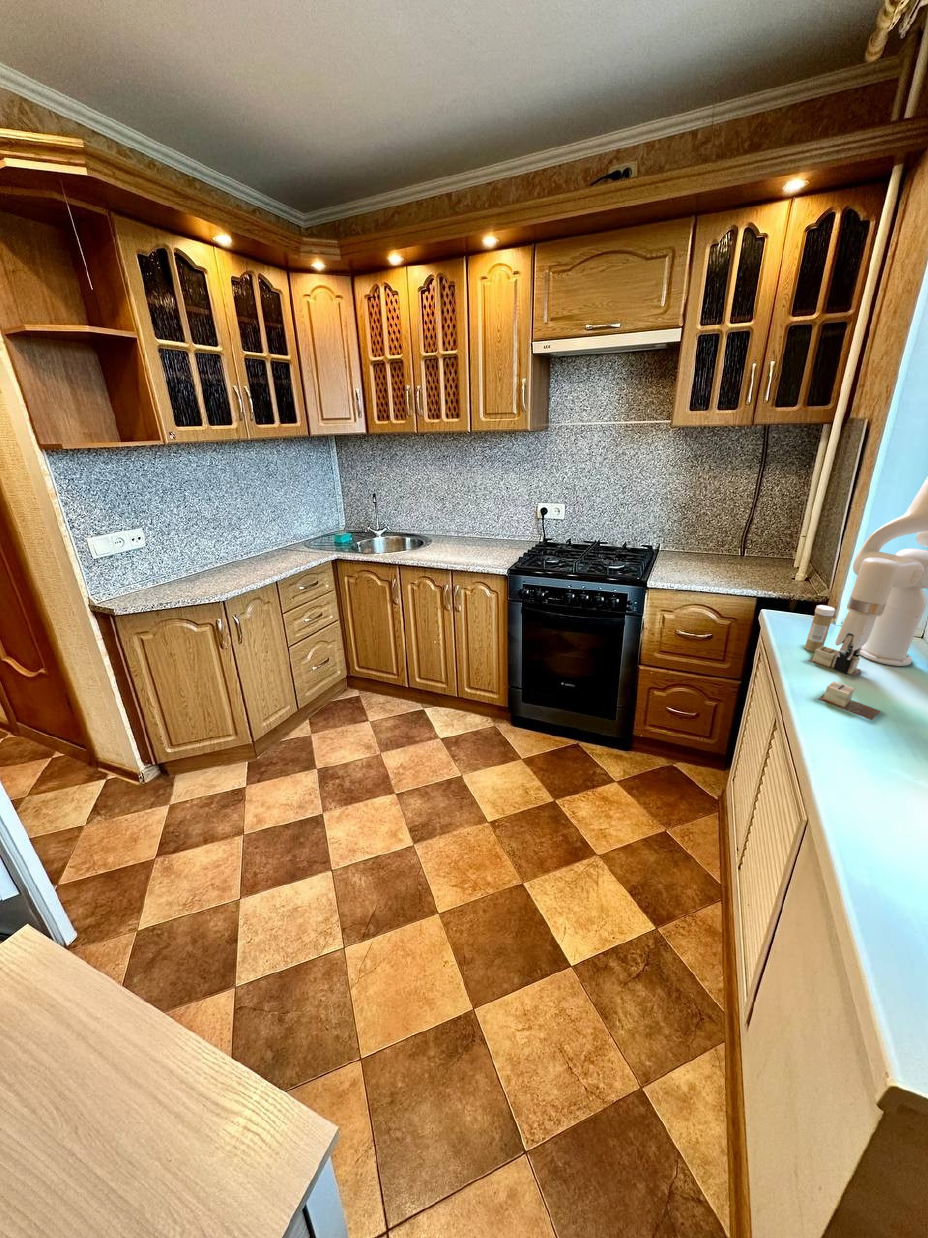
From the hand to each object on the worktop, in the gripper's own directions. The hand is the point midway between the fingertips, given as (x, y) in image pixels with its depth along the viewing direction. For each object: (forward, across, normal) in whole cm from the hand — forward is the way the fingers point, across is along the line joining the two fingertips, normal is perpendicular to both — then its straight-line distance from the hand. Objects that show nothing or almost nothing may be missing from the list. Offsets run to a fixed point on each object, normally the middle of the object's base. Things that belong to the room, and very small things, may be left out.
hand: (843, 668), depth 138 cm
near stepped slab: (+1, +20, +8) cm, 22 cm away
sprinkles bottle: (+1, -8, -10) cm, 13 cm away
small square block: (0, 0, 0) cm, 0 cm away
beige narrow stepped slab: (+1, 0, -2) cm, 3 cm away
